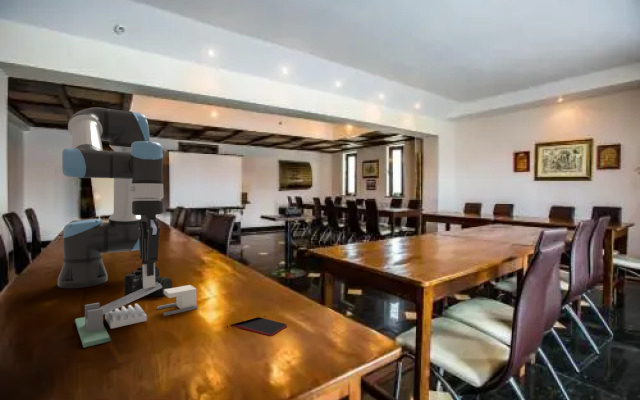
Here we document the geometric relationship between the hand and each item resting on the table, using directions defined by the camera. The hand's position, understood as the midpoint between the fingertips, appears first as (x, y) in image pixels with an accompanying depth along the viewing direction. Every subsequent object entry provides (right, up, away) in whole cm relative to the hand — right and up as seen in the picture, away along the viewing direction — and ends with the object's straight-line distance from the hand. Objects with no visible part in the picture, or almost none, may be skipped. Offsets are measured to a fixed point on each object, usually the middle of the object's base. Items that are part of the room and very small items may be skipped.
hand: (149, 286), depth 90 cm
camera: (-9, -9, +18) cm, 22 cm away
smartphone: (+29, -10, -3) cm, 31 cm away
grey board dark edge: (-4, -3, -3) cm, 6 cm away
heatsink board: (-1, -9, 0) cm, 9 cm away
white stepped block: (+6, -8, +6) cm, 11 cm away
